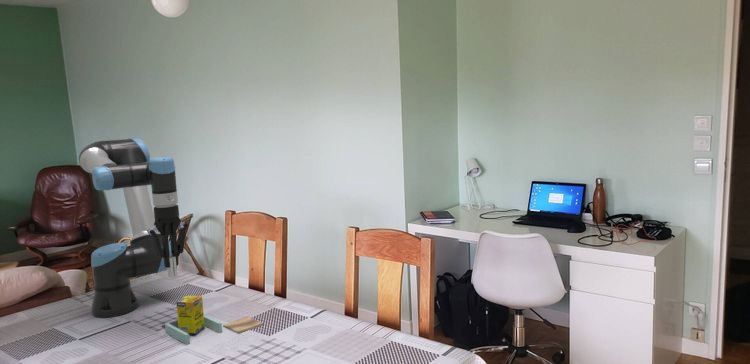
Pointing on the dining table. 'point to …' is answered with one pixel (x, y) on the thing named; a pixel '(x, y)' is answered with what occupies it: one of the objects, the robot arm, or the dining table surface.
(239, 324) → the pad
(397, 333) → the dining table surface
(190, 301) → the supplement box
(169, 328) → the channel
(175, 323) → the mat
